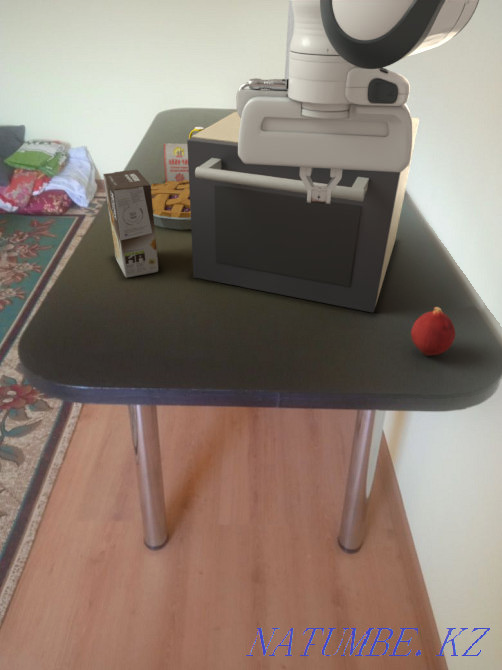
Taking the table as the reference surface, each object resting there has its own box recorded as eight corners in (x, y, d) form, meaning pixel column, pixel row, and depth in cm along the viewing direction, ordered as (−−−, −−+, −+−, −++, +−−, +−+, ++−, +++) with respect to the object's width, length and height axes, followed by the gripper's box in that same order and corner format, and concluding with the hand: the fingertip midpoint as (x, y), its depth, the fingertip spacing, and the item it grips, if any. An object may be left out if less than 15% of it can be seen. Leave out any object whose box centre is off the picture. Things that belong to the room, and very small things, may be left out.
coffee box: (160, 272, 93) (152, 185, 84) (125, 278, 91) (113, 190, 82) (146, 251, 100) (137, 168, 91) (113, 257, 98) (101, 172, 89)
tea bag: (167, 181, 134) (164, 141, 128) (193, 181, 134) (191, 141, 128) (166, 186, 130) (162, 145, 125) (192, 186, 131) (190, 146, 125)
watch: (188, 148, 159) (187, 128, 155) (191, 145, 161) (190, 125, 158) (206, 150, 158) (206, 129, 154) (209, 147, 160) (209, 127, 156)
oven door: (367, 332, 79) (396, 178, 65) (179, 292, 87) (169, 149, 74) (375, 308, 85) (402, 162, 71) (197, 273, 93) (191, 137, 79)
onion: (443, 344, 77) (456, 298, 72) (451, 368, 72) (466, 321, 68) (404, 341, 77) (414, 295, 73) (409, 365, 73) (421, 318, 68)
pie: (127, 231, 108) (124, 208, 105) (148, 194, 125) (146, 174, 123) (232, 235, 107) (232, 212, 104) (237, 197, 125) (237, 177, 122)
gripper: (230, 82, 56) (232, 205, 64) (425, 88, 53) (402, 216, 61) (241, 73, 61) (242, 188, 69) (419, 78, 58) (399, 198, 66)
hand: (318, 201), depth 65 cm, fingers closed
